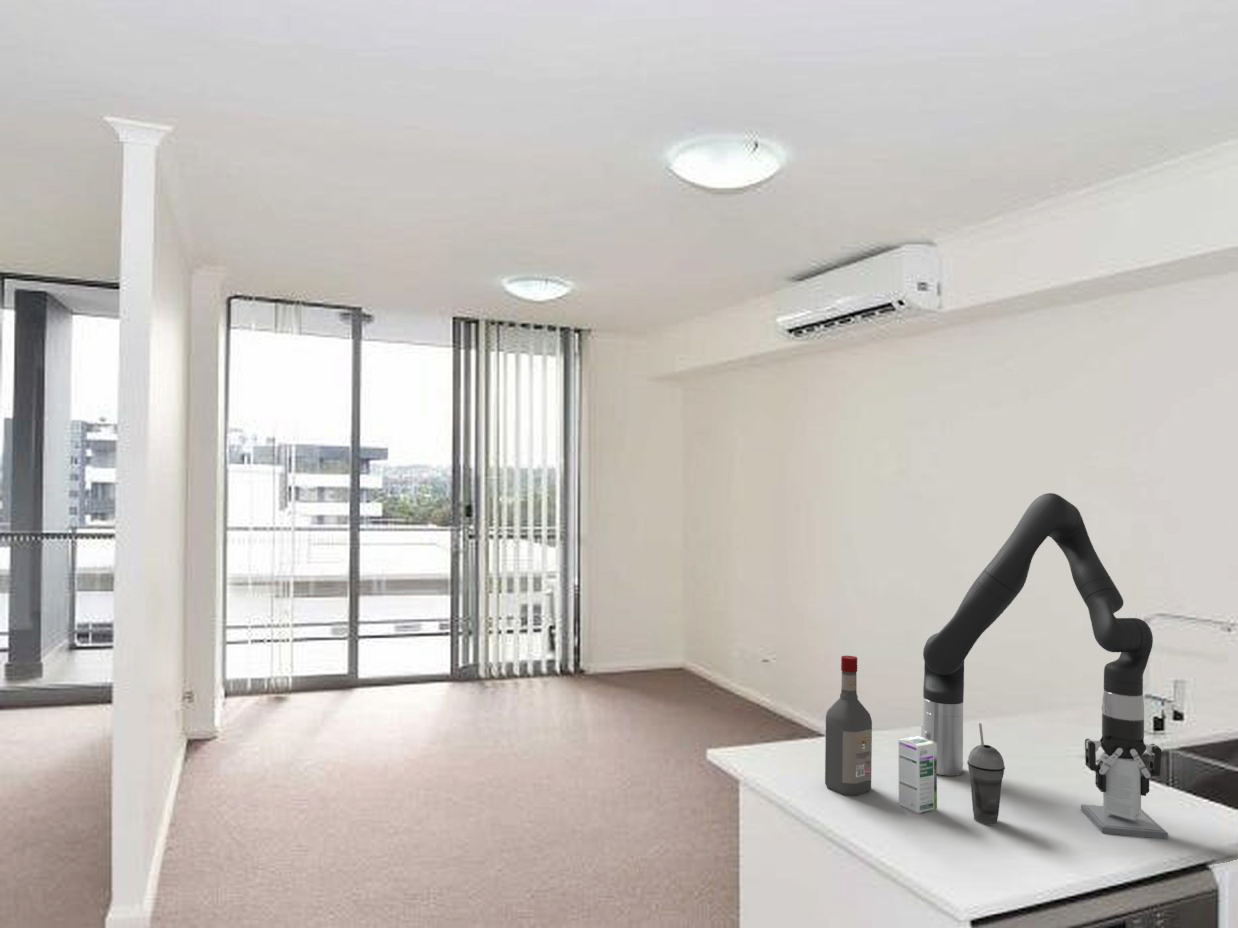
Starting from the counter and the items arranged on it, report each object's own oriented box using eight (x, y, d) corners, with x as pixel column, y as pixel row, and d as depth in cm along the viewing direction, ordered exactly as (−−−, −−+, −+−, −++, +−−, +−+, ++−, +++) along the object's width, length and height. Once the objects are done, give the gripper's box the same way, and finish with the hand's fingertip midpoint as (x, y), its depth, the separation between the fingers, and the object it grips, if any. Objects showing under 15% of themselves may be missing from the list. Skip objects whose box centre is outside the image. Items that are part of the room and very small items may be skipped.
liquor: (877, 790, 187) (878, 659, 187) (848, 798, 182) (850, 663, 182) (846, 777, 194) (848, 651, 195) (819, 784, 190) (820, 655, 190)
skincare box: (1141, 815, 170) (1142, 758, 170) (1135, 821, 167) (1135, 762, 167) (1109, 806, 174) (1109, 750, 175) (1102, 811, 172) (1102, 754, 172)
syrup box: (918, 814, 174) (919, 745, 174) (897, 804, 179) (898, 737, 179) (937, 809, 176) (938, 742, 177) (916, 799, 182) (916, 734, 182)
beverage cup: (1002, 830, 166) (1003, 731, 167) (963, 821, 170) (964, 725, 170) (1006, 818, 172) (1007, 723, 173) (969, 810, 176) (970, 717, 177)
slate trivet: (1102, 832, 166) (1102, 826, 166) (1080, 809, 178) (1080, 803, 178) (1167, 838, 164) (1167, 832, 164) (1141, 814, 175) (1141, 808, 175)
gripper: (1092, 715, 169) (1091, 796, 169) (1169, 721, 166) (1168, 802, 166) (1079, 706, 176) (1078, 782, 176) (1152, 711, 173) (1152, 789, 173)
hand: (1122, 792), depth 171 cm, fingers closed on skincare box, 7 cm apart
